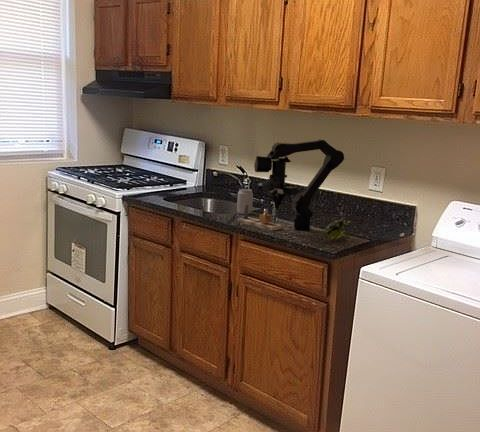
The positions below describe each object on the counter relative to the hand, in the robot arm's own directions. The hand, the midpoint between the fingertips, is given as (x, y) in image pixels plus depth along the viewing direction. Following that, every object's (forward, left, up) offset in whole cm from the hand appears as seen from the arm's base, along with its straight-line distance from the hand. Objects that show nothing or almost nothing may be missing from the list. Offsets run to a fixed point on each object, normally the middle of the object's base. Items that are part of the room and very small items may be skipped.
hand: (276, 208), depth 236 cm
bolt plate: (+8, -5, -9) cm, 13 cm away
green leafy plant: (-27, +10, -10) cm, 30 cm away
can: (+18, -29, -10) cm, 36 cm away
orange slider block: (+5, -3, -7) cm, 10 cm away
